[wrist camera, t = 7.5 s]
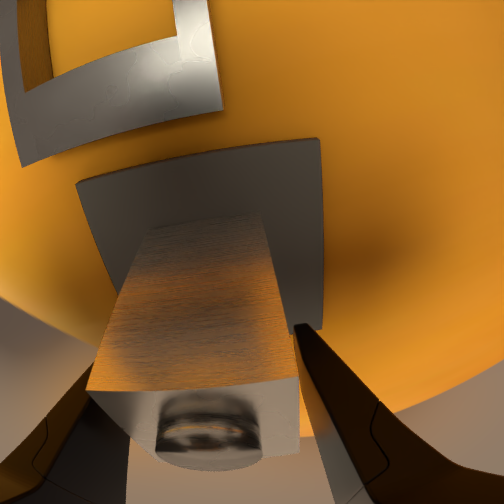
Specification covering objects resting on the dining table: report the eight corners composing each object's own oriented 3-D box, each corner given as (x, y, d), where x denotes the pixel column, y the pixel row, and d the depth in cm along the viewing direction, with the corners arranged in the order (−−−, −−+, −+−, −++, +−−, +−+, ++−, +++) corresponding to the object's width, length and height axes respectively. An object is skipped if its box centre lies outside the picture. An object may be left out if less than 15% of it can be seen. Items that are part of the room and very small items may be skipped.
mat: (316, 137, 10) (319, 139, 10) (320, 323, 15) (322, 329, 14) (79, 180, 10) (75, 184, 10) (147, 344, 15) (145, 349, 14)
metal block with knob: (259, 210, 11) (305, 404, 4) (270, 299, 13) (302, 470, 7) (148, 229, 11) (78, 414, 4) (176, 312, 13) (157, 478, 7)
